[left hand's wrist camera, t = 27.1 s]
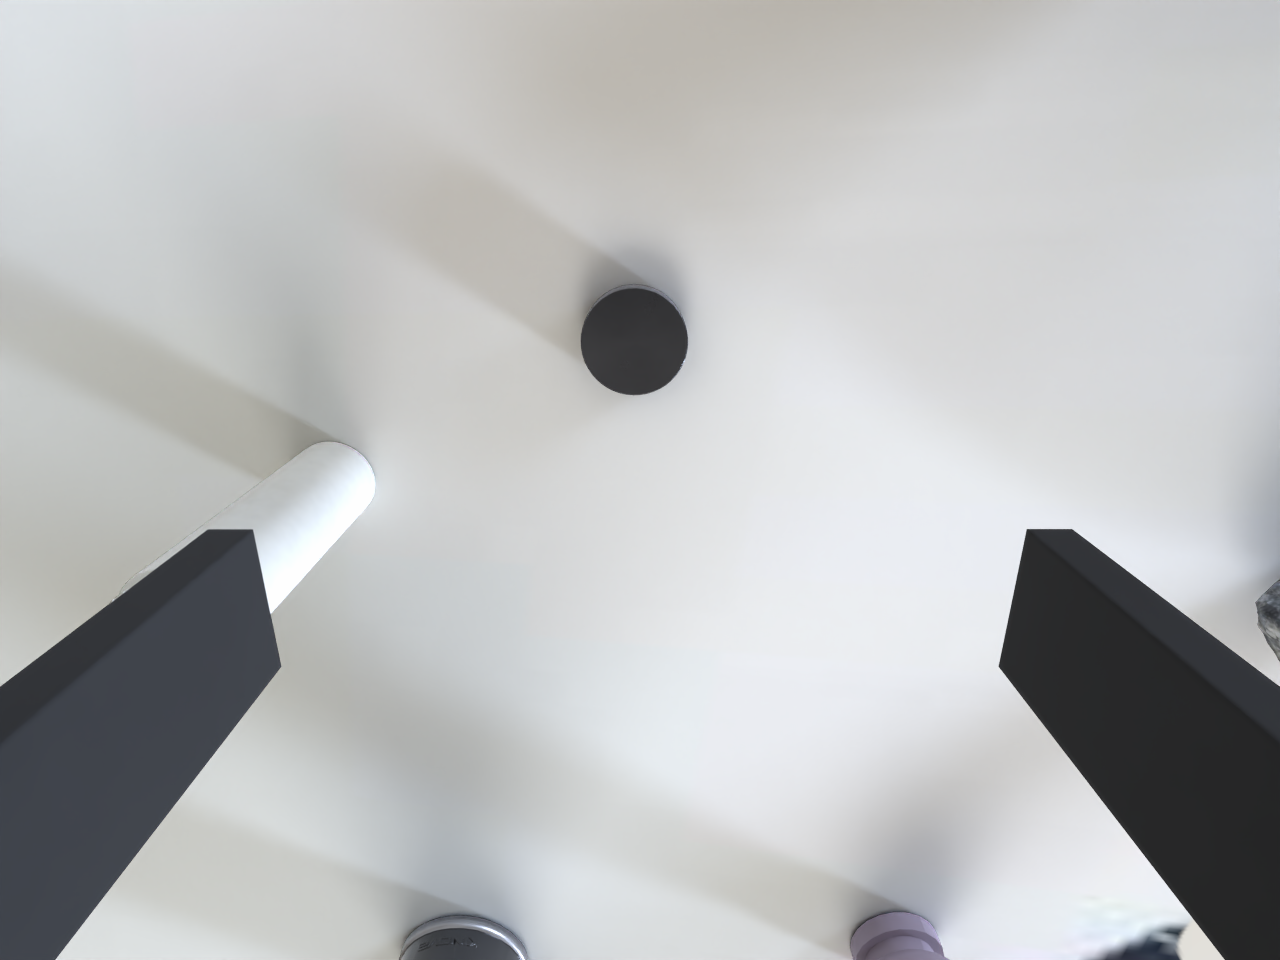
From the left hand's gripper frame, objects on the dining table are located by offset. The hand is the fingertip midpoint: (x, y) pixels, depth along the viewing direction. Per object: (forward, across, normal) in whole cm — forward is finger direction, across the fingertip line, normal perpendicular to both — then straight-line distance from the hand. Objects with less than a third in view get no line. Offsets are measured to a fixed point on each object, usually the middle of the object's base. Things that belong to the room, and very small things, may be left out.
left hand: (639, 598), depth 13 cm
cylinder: (+27, +17, +8) cm, 33 cm away
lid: (+26, 0, 0) cm, 26 cm away
